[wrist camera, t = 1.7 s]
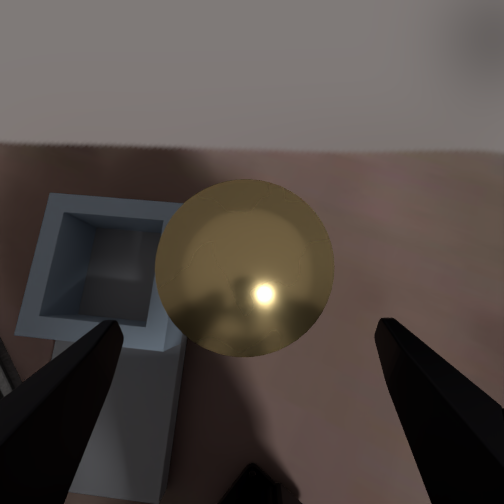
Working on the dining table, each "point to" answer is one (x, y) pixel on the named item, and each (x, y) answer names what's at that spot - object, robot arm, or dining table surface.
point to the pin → (244, 268)
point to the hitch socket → (130, 321)
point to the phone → (7, 373)
